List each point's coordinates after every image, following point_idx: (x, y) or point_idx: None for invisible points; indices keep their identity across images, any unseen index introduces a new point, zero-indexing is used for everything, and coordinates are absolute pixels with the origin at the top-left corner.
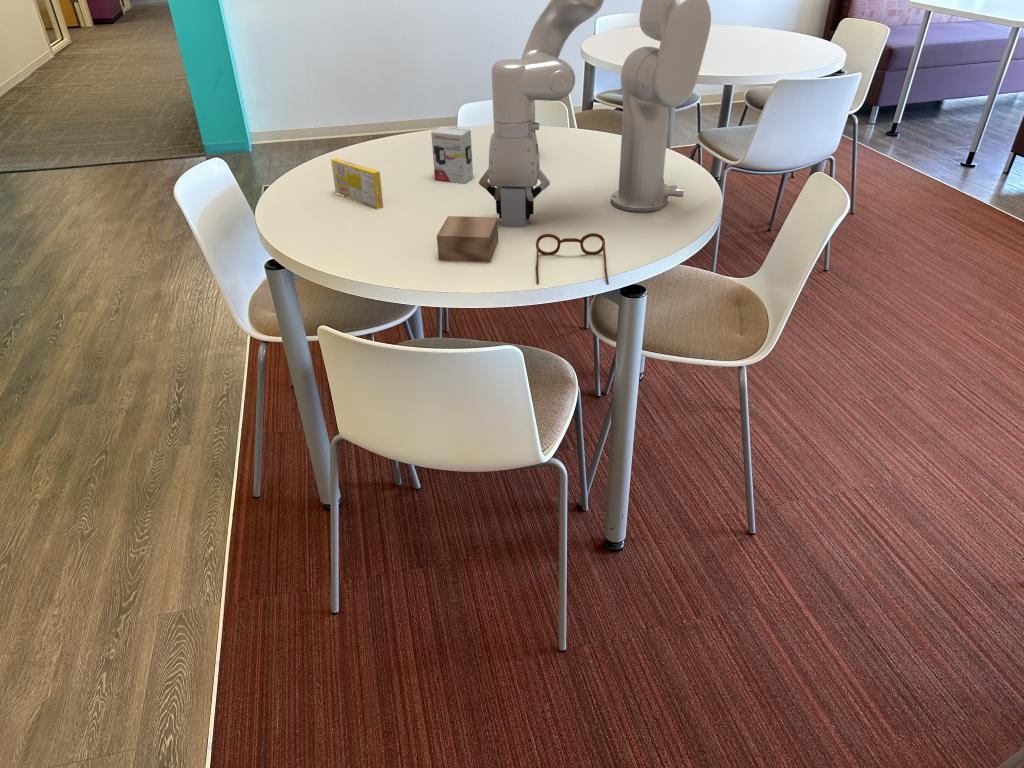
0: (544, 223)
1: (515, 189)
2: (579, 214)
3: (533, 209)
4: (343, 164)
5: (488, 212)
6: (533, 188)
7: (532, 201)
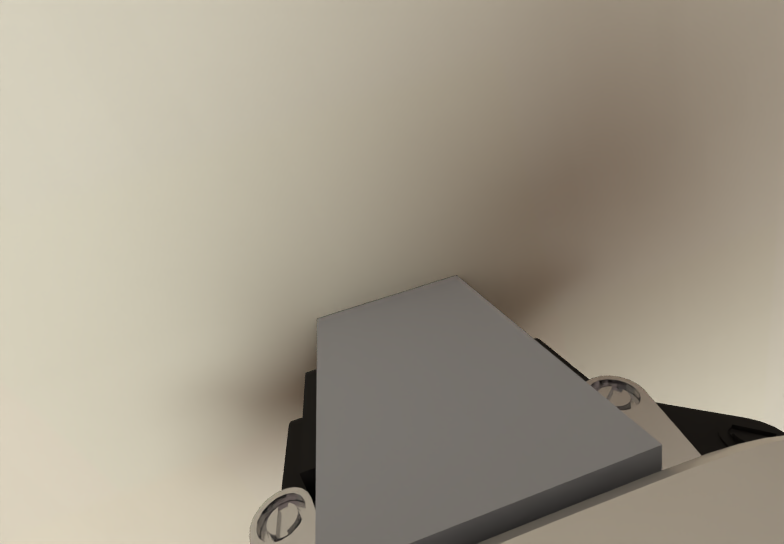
0: (558, 302)
1: None
2: (724, 98)
3: (543, 344)
4: None
5: (146, 272)
6: (678, 429)
7: None
